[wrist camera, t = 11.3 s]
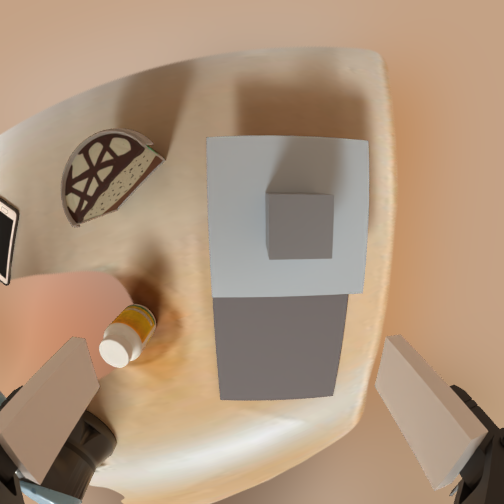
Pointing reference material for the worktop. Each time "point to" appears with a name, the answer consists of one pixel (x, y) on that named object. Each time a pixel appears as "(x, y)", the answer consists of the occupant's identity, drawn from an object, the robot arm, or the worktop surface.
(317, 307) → the tray
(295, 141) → the lid
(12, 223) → the cell phone
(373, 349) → the worktop surface
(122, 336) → the supplement bottle
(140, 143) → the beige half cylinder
